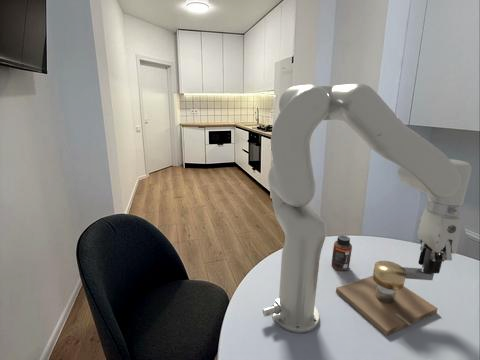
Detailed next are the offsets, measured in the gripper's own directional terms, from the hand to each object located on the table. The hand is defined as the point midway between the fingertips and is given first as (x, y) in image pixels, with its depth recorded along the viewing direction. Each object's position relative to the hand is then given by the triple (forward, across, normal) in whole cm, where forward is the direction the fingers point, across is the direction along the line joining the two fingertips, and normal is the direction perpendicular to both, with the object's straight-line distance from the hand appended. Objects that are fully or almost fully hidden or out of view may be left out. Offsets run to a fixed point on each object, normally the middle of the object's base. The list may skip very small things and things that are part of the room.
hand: (428, 267), depth 78 cm
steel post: (+11, +1, +10) cm, 15 cm away
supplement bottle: (+13, +18, +18) cm, 28 cm away
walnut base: (+12, 0, +10) cm, 16 cm away
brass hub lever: (+5, 0, +6) cm, 8 cm away
